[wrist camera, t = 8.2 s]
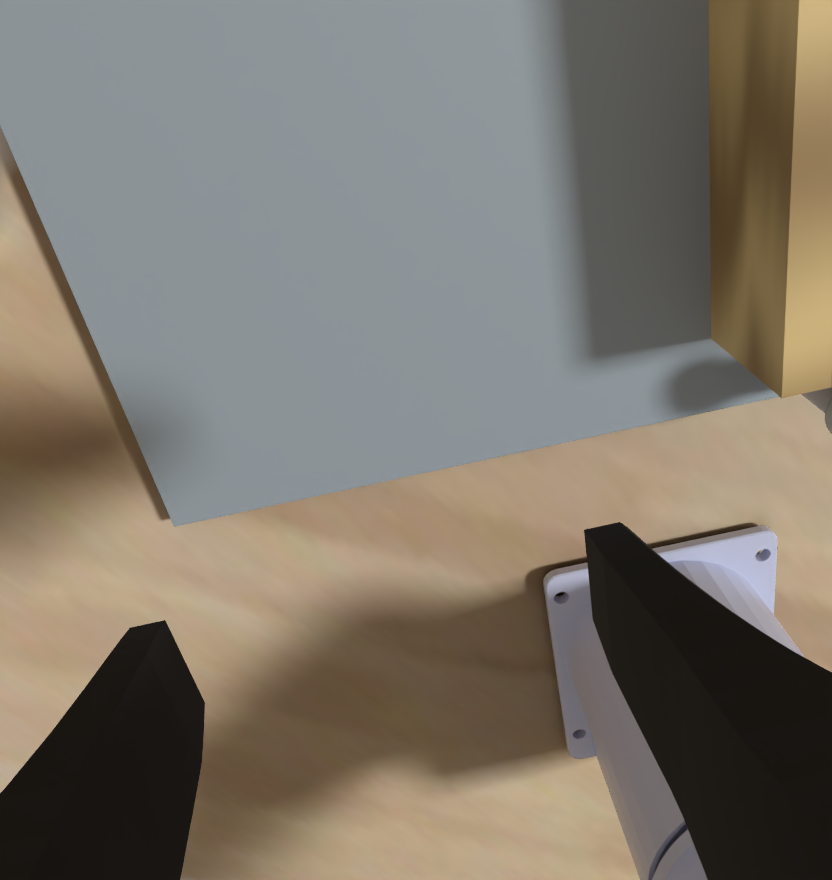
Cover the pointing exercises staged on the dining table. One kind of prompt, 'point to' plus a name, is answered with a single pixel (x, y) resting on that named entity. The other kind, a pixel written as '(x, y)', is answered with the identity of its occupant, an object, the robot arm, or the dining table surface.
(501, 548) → the dining table surface
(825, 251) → the frame
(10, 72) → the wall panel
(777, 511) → the dining table surface
